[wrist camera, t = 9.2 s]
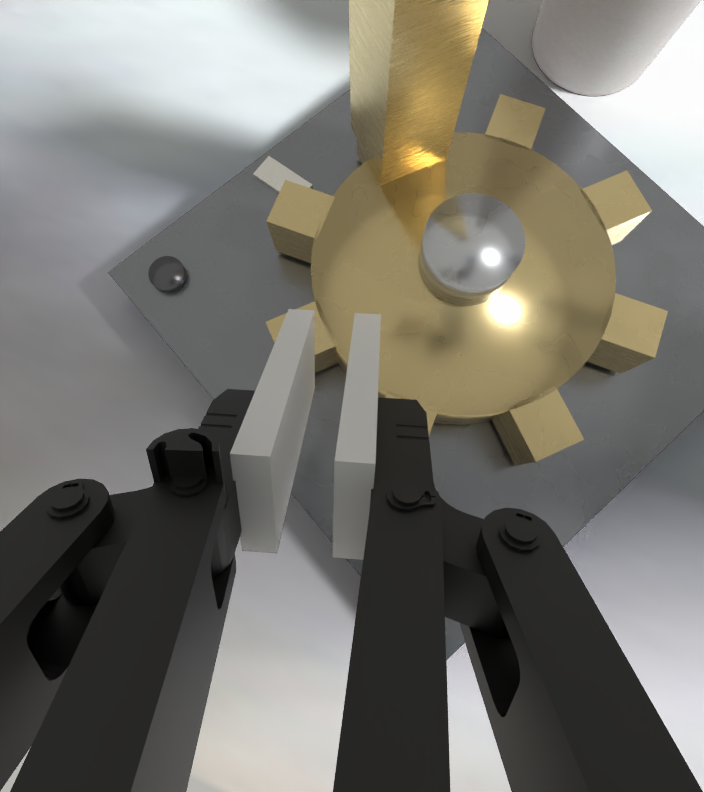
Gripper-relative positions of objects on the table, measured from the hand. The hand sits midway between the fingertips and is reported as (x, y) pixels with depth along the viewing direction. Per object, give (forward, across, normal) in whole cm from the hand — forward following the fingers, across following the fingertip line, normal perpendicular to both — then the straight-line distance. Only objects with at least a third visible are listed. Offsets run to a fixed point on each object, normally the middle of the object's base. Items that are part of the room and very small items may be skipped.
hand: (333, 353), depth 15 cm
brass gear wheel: (+8, +5, -1) cm, 9 cm away
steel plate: (+10, +4, -3) cm, 11 cm away
